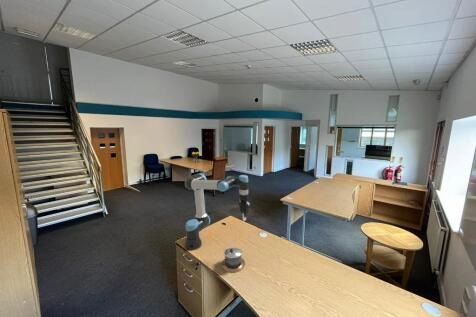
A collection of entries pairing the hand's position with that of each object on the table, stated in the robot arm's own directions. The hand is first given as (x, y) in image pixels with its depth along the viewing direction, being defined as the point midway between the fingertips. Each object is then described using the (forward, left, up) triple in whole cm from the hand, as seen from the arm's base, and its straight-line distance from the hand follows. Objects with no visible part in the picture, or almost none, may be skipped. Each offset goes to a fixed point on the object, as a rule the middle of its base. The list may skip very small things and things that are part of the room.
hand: (244, 220), depth 178 cm
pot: (+5, -18, -30) cm, 35 cm away
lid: (+5, -18, -20) cm, 27 cm away
